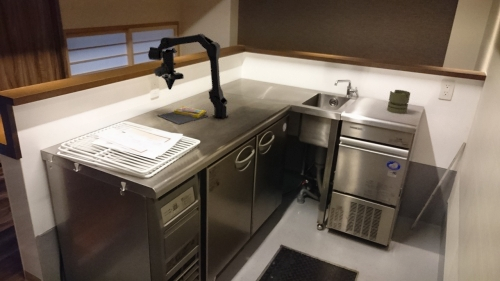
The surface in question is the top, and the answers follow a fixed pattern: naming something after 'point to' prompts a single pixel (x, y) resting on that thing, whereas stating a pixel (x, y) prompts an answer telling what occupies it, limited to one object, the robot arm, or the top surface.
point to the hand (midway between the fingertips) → (169, 89)
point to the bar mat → (179, 118)
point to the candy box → (190, 112)
